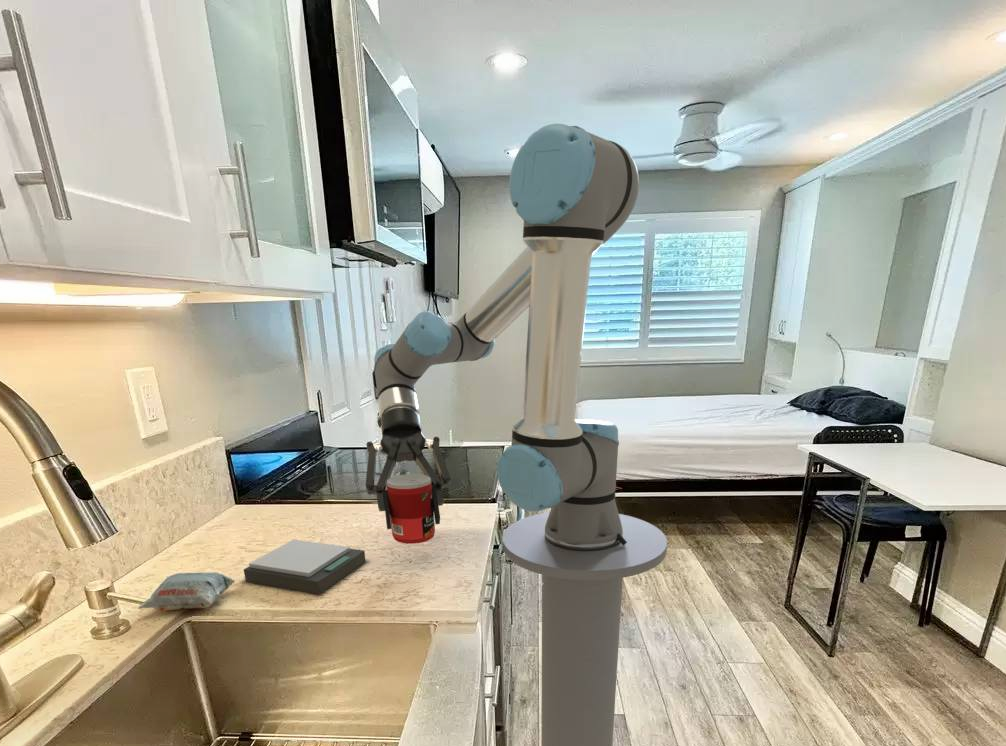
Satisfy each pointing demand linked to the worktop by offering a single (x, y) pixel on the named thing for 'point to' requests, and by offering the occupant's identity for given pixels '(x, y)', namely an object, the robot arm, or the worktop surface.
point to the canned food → (411, 508)
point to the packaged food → (188, 591)
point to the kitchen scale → (304, 566)
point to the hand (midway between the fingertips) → (413, 523)
